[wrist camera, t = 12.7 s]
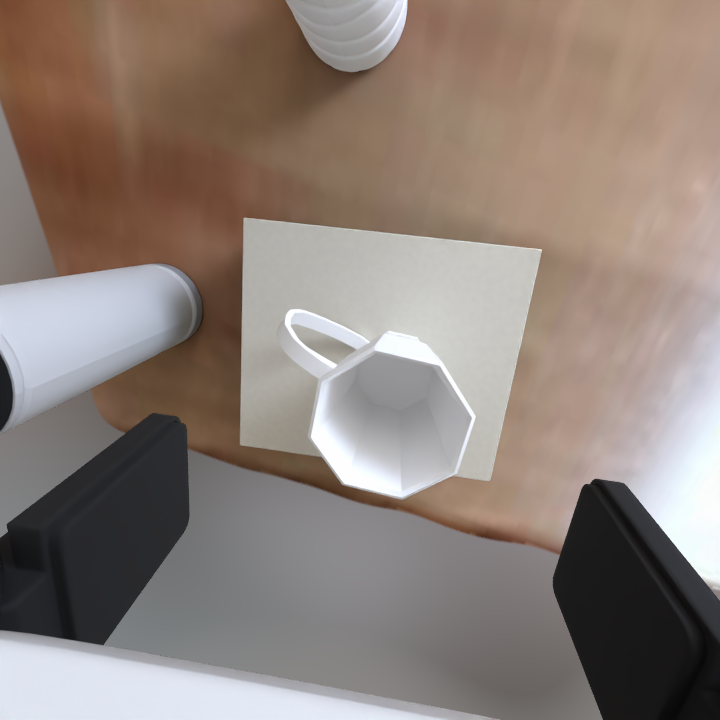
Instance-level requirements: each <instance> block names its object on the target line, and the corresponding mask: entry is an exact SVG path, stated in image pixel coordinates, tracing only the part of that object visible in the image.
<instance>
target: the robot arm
mask: <svg viewBox="0 0 720 720" xmlns="http://www.w3.org/2000/svg"><path fill="white" fill-rule="evenodd" d="M187 456H188V454H187V428H186V425H185V424H183V423H181V421H180V419H179V418H178V417H177V416H170V415H164V414H157V413H153V414H151V415H149V416H148V417H147V418H145V419H144V420H143V421H141V422H140V423H139V424H137V425H136V426H135V427H133V428H132V429H131V430H130V431H128V432H127V433H126V434H124V435H123V436H122V437H120V438H119V439H118V440H116V441H115V442H114V443H113V444H111V445H110V446H109V447H107V448H106V449H105V450H103V451H102V452H101V453H99V454H98V455H97V456H95V457H94V458H93V459H92V460H90V461H89V462H88V463H86V464H85V465H84V466H82V467H81V468H80V469H78V470H77V471H76V472H75V473H73V474H72V475H71V476H69V477H68V478H67V479H65V480H64V481H63V482H61V483H60V484H59V485H57V486H56V487H55V488H54V489H52V490H51V491H50V492H48V493H47V494H46V495H44V496H43V497H42V498H40V499H39V500H38V501H37V502H35V503H34V504H33V505H31V506H30V507H29V508H28V509H26V510H25V511H23V512H22V513H21V514H20V515H18V516H17V517H16V518H14V519H13V520H12V521H10V522H9V523H8V524H7V529H8V532H7V533H6V534H5V535H4V536H2V537H1V538H0V720H500V719H495V718H490V717H485V716H480V715H474V714H469V713H464V712H459V711H454V710H449V709H444V708H439V707H433V706H428V705H423V704H418V703H412V702H407V701H402V700H396V699H391V698H386V697H381V696H376V695H370V694H365V693H360V692H354V691H350V690H344V689H339V688H333V687H328V686H323V685H318V684H312V683H307V682H302V681H296V680H291V679H286V678H280V677H275V676H270V675H264V674H259V673H253V672H248V671H242V670H237V669H232V668H226V667H221V666H215V665H210V664H204V663H199V662H193V661H188V660H182V659H177V658H171V657H166V656H161V655H155V654H150V653H144V652H139V651H133V650H128V649H122V648H117V647H110V646H104V643H105V642H106V640H107V639H108V638H109V636H110V635H111V633H112V632H113V631H114V629H115V628H116V626H117V625H118V624H119V622H120V621H121V619H122V618H123V617H124V615H125V614H126V612H127V611H128V610H129V608H130V607H131V605H132V604H133V602H134V601H135V600H136V598H137V597H138V595H139V594H140V593H141V591H142V590H143V589H144V587H145V586H146V584H147V583H148V582H149V580H150V579H151V578H152V576H153V575H154V573H155V572H156V571H157V569H158V568H159V566H160V565H161V564H162V562H163V561H164V559H165V558H166V556H167V555H168V554H169V552H170V551H171V550H172V548H173V547H174V545H175V544H176V543H177V541H178V540H179V538H180V537H181V536H182V534H183V533H184V531H185V529H186V527H187V525H188V521H189V487H188V457H187ZM553 589H554V593H555V596H556V599H557V602H558V604H559V607H560V609H561V612H562V614H563V617H564V620H565V622H566V625H567V627H568V630H569V632H570V635H571V637H572V640H573V643H574V646H575V648H576V651H577V653H578V656H579V659H580V661H581V663H582V666H583V669H584V671H585V674H586V677H587V679H588V682H589V684H590V687H591V690H592V692H593V695H594V697H595V700H596V702H597V705H598V708H599V710H600V713H601V715H602V718H603V720H720V601H719V600H718V598H717V597H716V596H715V594H714V593H713V592H712V591H711V589H710V588H709V587H708V586H707V584H706V583H705V582H704V581H703V579H702V578H701V577H700V576H699V575H698V573H697V572H696V571H695V570H694V568H693V567H692V566H691V565H690V563H689V562H688V561H687V560H686V558H685V557H684V556H683V555H682V554H681V552H680V551H679V550H678V549H677V547H676V546H675V545H674V544H673V542H672V541H671V540H670V539H669V537H668V536H667V535H666V534H665V533H664V531H663V530H662V529H661V528H660V526H659V525H658V524H657V523H656V521H655V520H654V519H653V518H652V516H651V515H650V514H649V513H648V512H647V510H646V509H645V508H644V507H643V505H642V504H641V503H640V502H639V500H638V499H637V498H636V497H635V495H634V494H633V493H632V492H631V491H630V489H629V488H628V487H627V486H626V485H625V484H624V483H621V482H614V481H607V480H601V479H594V480H593V481H592V482H591V483H590V484H585V485H584V486H583V487H582V490H581V493H580V496H579V499H578V502H577V505H576V508H575V511H574V514H573V517H572V520H571V523H570V526H569V530H568V533H567V536H566V539H565V542H564V545H563V548H562V551H561V554H560V557H559V560H558V564H557V567H556V570H555V573H554V577H553Z"/></svg>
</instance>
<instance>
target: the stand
mask: <svg viewBox="0 0 720 720" xmlns="http://www.w3.org/2000/svg"><path fill="white" fill-rule="evenodd" d="M541 252H542V250H540V249H532V248H522V247H513V246H506V245H497V244H487V243H478V242H469V241H459V240H450V239H441V238H432V237H422V236H413V235H404V234H394V233H385V232H376V231H366V230H357V229H348V228H338V227H329V226H320V225H311V224H301V223H292V222H283V221H271V220H262V219H252V218H244V219H243V281H242V343H241V404H240V445H242V446H249V447H256V448H263V449H269V450H276V451H283V452H290V453H297V454H304V455H311V456H318V457H322V456H321V455H320V453H319V452H318V451H317V449H316V448H315V447H314V445H313V444H312V442H311V441H310V440H309V438H308V432H309V427H310V421H311V416H312V411H313V406H314V401H315V395H316V390H317V385H318V380H319V379H318V378H317V377H315V376H313V375H312V374H310V373H309V372H308V371H306V370H305V369H304V368H302V367H301V366H300V365H298V364H297V363H296V362H294V361H293V360H292V359H291V358H290V357H289V356H288V355H287V354H286V353H285V352H284V350H283V348H282V347H281V345H280V343H279V341H278V340H277V338H276V337H277V329H278V326H279V325H280V323H281V322H282V320H283V318H284V317H285V315H286V314H287V313H288V311H289V310H291V309H301V310H304V311H308V312H311V313H314V314H316V315H319V316H321V317H323V318H326V319H328V320H330V321H333V322H335V323H337V324H339V325H342V326H344V327H346V328H347V329H349V330H351V331H353V332H355V333H357V334H359V335H361V336H362V337H363V338H365V339H366V340H368V341H369V342H371V341H372V340H374V339H376V338H377V337H379V336H381V335H382V334H384V333H386V332H387V331H392V332H396V333H401V334H405V335H409V336H413V337H417V338H418V340H419V341H420V342H422V343H425V344H427V345H428V347H429V348H430V349H431V350H432V352H434V353H435V354H436V355H437V356H438V358H439V359H440V360H441V361H442V363H443V364H444V366H445V367H446V369H447V371H448V372H449V374H450V375H451V377H452V379H453V380H454V382H455V384H456V385H457V387H458V388H459V390H460V392H461V393H462V395H463V396H464V398H465V400H466V401H467V403H468V405H469V406H470V408H471V409H472V411H473V413H474V414H475V416H476V418H475V421H474V424H473V427H472V430H471V433H470V436H469V439H468V442H467V445H466V448H465V451H464V454H463V457H462V460H461V464H460V467H459V470H458V473H457V474H455V475H453V476H455V477H462V478H469V479H476V480H483V481H490V478H491V474H492V469H493V465H494V461H495V456H496V452H497V447H498V443H499V438H500V434H501V429H502V425H503V421H504V416H505V412H506V407H507V403H508V398H509V394H510V389H511V385H512V381H513V376H514V372H515V367H516V363H517V358H518V354H519V349H520V345H521V341H522V336H523V332H524V327H525V323H526V318H527V314H528V309H529V305H530V300H531V296H532V292H533V287H534V283H535V278H536V274H537V269H538V265H539V260H540V256H541ZM291 328H292V329H293V331H294V332H295V334H296V336H297V337H298V339H299V340H300V341H301V342H302V343H303V344H304V345H305V346H306V347H308V348H309V349H311V350H313V351H314V352H316V353H318V354H319V355H321V356H323V357H324V358H326V359H328V360H330V361H331V362H333V363H335V364H338V363H340V362H341V361H342V360H343V359H344V358H345V357H347V356H348V355H349V354H351V353H353V352H354V351H356V349H355V348H353V347H352V346H350V345H348V344H346V343H344V342H342V341H340V340H338V339H335V338H333V337H331V336H328V335H326V334H323V333H321V332H318V331H316V330H313V329H311V328H307V327H304V326H301V325H298V324H293V325H291Z"/></svg>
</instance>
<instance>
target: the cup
mask: <svg viewBox="0 0 720 720" xmlns="http://www.w3.org/2000/svg"><path fill="white" fill-rule="evenodd" d="M293 324H298V325H301V326H304V327H307V328H311V329H313V330H316V331H318V332H321V333H323V334H326V335H328V336H331V337H333V338H335V339H338V340H340V341H342V342H344V343H346V344H348V345H350V346H352V347H353V348H355V349H356V351H354V352H353V353H351V354H349V355H348V356H347V357H345V358H344V359H343V360H342V361H341V362H340V363H338V364H335V363H333V362H331V361H330V360H328V359H326V358H324V357H323V356H321V355H319V354H318V353H316V352H314V351H313V350H311V349H309V348H308V347H306V346H305V345H304V344H303V343H302V342H301V341H300V340H299V339H298V337H297V336H296V334H295V332H294V331H293V329H292V328H291V325H293ZM276 338H277V340H278V341H279V343H280V345H281V347H282V348H283V350H284V352H285V353H286V354H287V355H288V356H289V357H290V358H291V359H292V360H293V361H294V362H296V363H297V364H298V365H300V366H301V367H302V368H304V369H305V370H306V371H308V372H309V373H310V374H312V375H313V376H315V377H317V378H318V379H319V380H318V385H317V390H316V395H315V401H314V406H313V411H312V416H311V421H310V427H309V432H308V438H309V440H310V441H311V442H312V444H313V445H314V447H315V448H316V449H317V451H318V452H319V453H320V455H321V456H322V458H323V459H324V460H325V462H326V463H327V465H328V466H329V467H330V469H331V470H332V471H333V473H334V474H335V476H336V477H337V478H338V480H339V481H340V482H341V484H342V485H344V486H348V487H352V488H357V489H361V490H365V491H369V492H373V493H377V494H381V495H385V496H389V497H393V498H397V499H401V500H403V499H405V498H407V497H409V496H411V495H413V494H415V493H417V492H419V491H422V490H424V489H426V488H428V487H430V486H432V485H434V484H436V483H438V482H440V481H442V480H444V479H446V478H449V477H451V476H453V475H455V474H457V473H458V470H459V467H460V464H461V460H462V457H463V454H464V451H465V448H466V445H467V442H468V439H469V436H470V433H471V430H472V427H473V424H474V421H475V418H476V416H475V414H474V413H473V411H472V409H471V408H470V406H469V405H468V403H467V401H466V400H465V398H464V396H463V395H462V393H461V392H460V390H459V388H458V387H457V385H456V384H455V382H454V380H453V379H452V377H451V375H450V374H449V372H448V371H447V369H446V367H445V366H444V364H443V363H442V361H441V360H440V359H439V358H438V356H437V355H436V354H435V353H434V352H432V350H431V349H430V348H429V347H428V345H427V344H425V343H422V342H420V341H419V340H418V338H417V337H413V336H409V335H405V334H401V333H396V332H392V331H387V332H386V333H384V334H382V335H381V336H379V337H377V338H376V339H374V340H372V341H371V342H369V341H368V340H366V339H365V338H363V337H362V336H361V335H359V334H357V333H355V332H353V331H351V330H349V329H347V328H346V327H344V326H342V325H339V324H337V323H335V322H333V321H330V320H328V319H326V318H323V317H321V316H319V315H316V314H314V313H311V312H308V311H304V310H301V309H291V310H289V311H288V313H287V314H286V315H285V317H284V318H283V320H282V322H281V323H280V325H279V326H278V329H277V337H276Z"/></svg>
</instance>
